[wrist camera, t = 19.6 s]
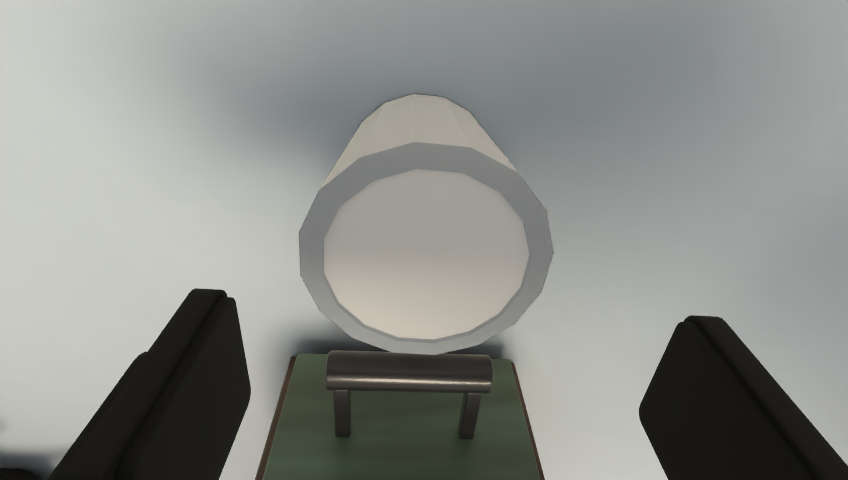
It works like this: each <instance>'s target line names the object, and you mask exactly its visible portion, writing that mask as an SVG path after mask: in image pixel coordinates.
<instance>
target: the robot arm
mask: <svg viewBox="0 0 848 480" xmlns="http://www.w3.org/2000/svg"><path fill="white" fill-rule="evenodd" d="M250 394H251V387H250V381H249V375H248V370H247V364H246V358H245V353H244V347H243V341H242V336H241V330H240V324H239V319H238V313H237V307H236V302H235V300H234V298H231V297H227V294H226V292H225V291H224V290H214V289H193V290H192V291H191V292H190V293H189V294H188V296H187V297H186V299H185V300H184V301H183V303H182V304H181V306H180V307H179V308H178V310H177V311H176V313H175V314H174V315H173V317H172V318H171V320H170V321H169V323H168V324H167V325H166V327H165V328H164V330H163V331H162V332H161V334H160V335H159V337H158V338H157V339H156V341H155V342H154V344H153V345H152V346H151V348H150V349H149V351H148V352H144V353H142V354H140V355H139V356H138V357H137V358H136V359H135V360H134V361H133V362H132V364H131V365H130V367H129V368H128V369H127V371H126V372H125V373H124V375H123V376H122V378H121V379H120V380H119V382H118V383H117V384H116V386H115V387H114V389H113V390H112V391H111V393H110V394H109V395H108V397H107V398H106V400H105V401H104V402H103V404H102V405H101V406H100V408H99V409H98V411H97V412H96V413H95V415H94V416H93V417H92V419H91V420H90V422H89V423H88V424H87V426H86V427H85V428H84V430H83V431H82V433H81V434H80V435H79V437H78V438H77V439H76V441H75V442H74V443H73V445H72V446H71V448H70V449H69V450H68V452H67V453H66V454H65V456H64V457H63V459H62V460H61V461H60V463H59V464H58V465H57V467H56V468H55V470H54V471H53V472H52V474H51V475H50V476H49V478H48V479H47V480H219V477H220V475H221V472H222V470H223V467H224V465H225V462H226V460H227V457H228V455H229V452H230V450H231V447H232V445H233V442H234V440H235V437H236V434H237V432H238V429H239V427H240V424H241V422H242V419H243V417H244V414H245V412H246V409H247V407H248V404H249V400H250ZM639 417H640V421H641V423H642V426H643V428H644V430H645V432H646V434H647V436H648V438H649V440H650V442H651V444H652V447H653V449H654V451H655V453H656V455H657V457H658V459H659V461H660V463H661V465H662V468H663V470H664V472H665V474H666V476H667V478H668V480H848V466H847V465H846V463H845V462H844V461H843V460H842V459H841V458H840V456H839V455H838V454H837V453H836V452H835V450H834V449H833V448H832V447H831V446H830V445H829V443H828V442H827V441H826V440H825V439H824V437H823V436H822V435H821V434H820V433H819V432H818V430H817V429H816V428H815V427H814V426H813V424H812V423H811V422H810V421H809V420H808V419H807V417H806V416H805V415H804V414H803V413H802V411H801V410H800V409H799V408H798V407H797V406H796V404H795V403H794V402H793V401H792V400H791V399H790V397H789V396H788V395H787V394H786V393H785V391H784V390H783V389H782V388H781V387H780V386H779V384H778V383H777V382H776V381H775V380H774V378H773V377H772V376H771V375H770V374H769V373H768V371H767V370H766V369H765V368H764V367H763V365H762V364H761V363H760V362H759V361H758V360H757V358H756V357H755V356H754V355H753V354H752V352H751V351H750V350H749V349H748V348H747V347H746V345H745V344H744V343H743V342H742V341H741V339H740V338H739V337H738V336H737V335H736V334H735V332H734V331H733V330H732V329H731V328H730V327H729V325H728V324H727V323H726V322H725V321H724V320H723V319H722V318H719V317H712V316H688V317H687V318H686V319H685V320H684V322H680V323H679V324H678V325H677V326H676V328H675V330H674V333H673V335H672V337H671V339H670V341H669V343H668V346H667V348H666V350H665V352H664V354H663V356H662V359H661V361H660V363H659V365H658V367H657V369H656V372H655V374H654V376H653V378H652V380H651V382H650V384H649V387H648V389H647V391H646V393H645V395H644V397H643V400H642V402H641V404H640V407H639Z"/></svg>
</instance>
